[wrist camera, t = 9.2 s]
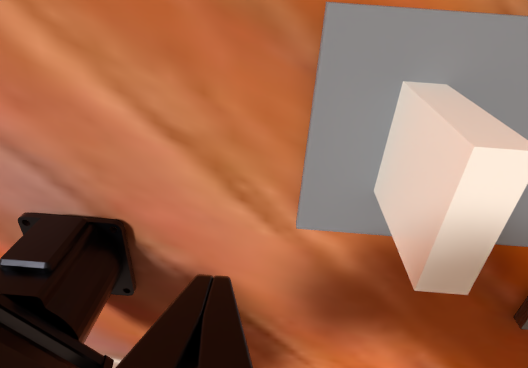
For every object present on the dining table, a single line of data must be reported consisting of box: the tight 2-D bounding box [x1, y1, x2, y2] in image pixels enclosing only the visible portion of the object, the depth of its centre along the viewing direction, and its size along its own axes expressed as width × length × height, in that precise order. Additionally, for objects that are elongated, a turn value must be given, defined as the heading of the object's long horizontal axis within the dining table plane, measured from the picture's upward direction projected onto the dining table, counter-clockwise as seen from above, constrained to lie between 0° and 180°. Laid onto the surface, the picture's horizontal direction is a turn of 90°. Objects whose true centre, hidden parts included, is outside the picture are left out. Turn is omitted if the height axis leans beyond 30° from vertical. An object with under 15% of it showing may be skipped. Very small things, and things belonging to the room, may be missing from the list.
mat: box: [296, 2, 528, 247], centre depth 18 cm, size 12×14×1 cm
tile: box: [374, 81, 528, 295], centre depth 14 cm, size 6×2×7 cm, turn 177°
